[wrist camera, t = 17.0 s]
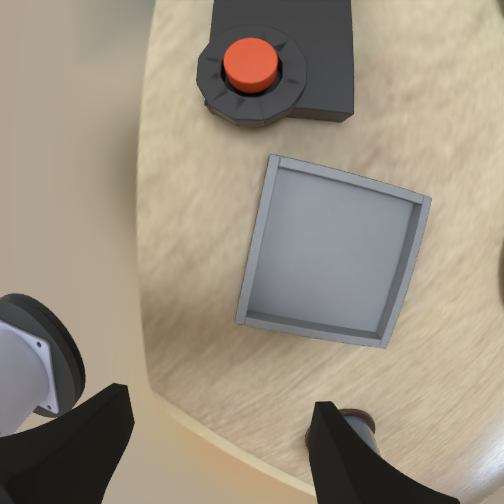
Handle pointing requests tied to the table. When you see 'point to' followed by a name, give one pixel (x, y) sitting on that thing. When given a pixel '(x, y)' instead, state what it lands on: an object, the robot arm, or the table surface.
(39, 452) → the robot arm
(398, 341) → the table surface
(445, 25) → the table surface
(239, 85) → the button
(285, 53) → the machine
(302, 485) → the table surface
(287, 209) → the tray
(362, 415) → the coaster
